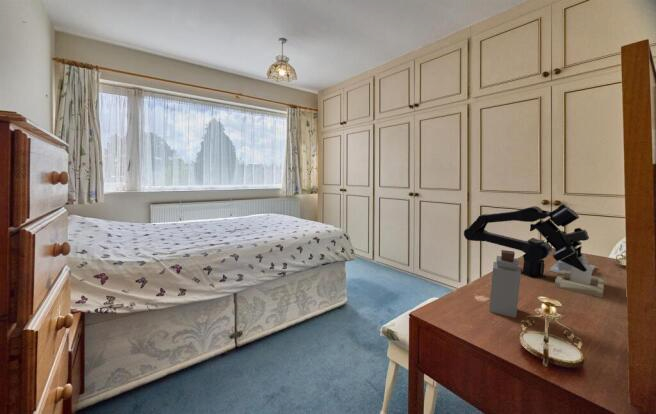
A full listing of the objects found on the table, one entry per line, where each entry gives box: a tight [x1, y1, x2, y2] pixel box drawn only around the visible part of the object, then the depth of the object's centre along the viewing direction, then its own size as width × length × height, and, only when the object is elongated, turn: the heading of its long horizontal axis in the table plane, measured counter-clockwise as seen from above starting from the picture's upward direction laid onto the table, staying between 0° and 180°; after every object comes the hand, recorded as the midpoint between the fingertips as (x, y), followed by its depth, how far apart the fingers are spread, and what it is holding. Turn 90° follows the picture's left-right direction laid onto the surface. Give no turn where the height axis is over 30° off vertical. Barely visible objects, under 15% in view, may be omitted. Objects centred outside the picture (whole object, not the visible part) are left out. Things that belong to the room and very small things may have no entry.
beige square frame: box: [554, 270, 605, 298], centre depth 106 cm, size 16×13×2 cm
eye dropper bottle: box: [569, 253, 593, 285], centre depth 105 cm, size 4×6×12 cm
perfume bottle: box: [488, 249, 522, 319], centre depth 86 cm, size 7×7×18 cm
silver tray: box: [549, 260, 596, 274], centre depth 123 cm, size 12×20×4 cm, turn 132°
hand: (586, 269), depth 104 cm, fingers open, 6 cm apart
